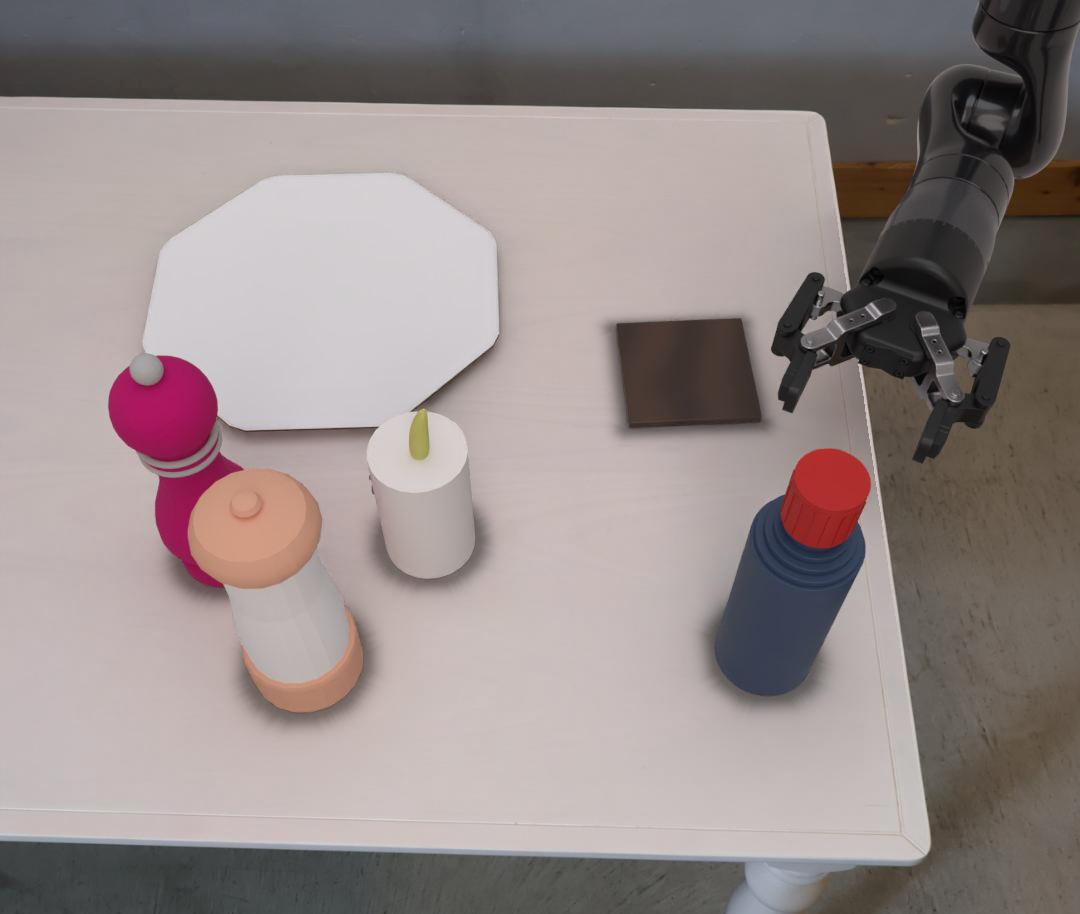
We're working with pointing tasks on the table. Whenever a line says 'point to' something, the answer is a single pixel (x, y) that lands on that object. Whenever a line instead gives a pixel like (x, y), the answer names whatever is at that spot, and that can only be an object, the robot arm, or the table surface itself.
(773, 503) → the bottle
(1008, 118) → the robot arm
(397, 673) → the table surface
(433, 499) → the candle
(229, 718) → the table surface
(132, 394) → the pepper mill
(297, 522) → the pepper shaker
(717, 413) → the coaster
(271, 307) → the plate
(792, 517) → the cap
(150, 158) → the table surface
